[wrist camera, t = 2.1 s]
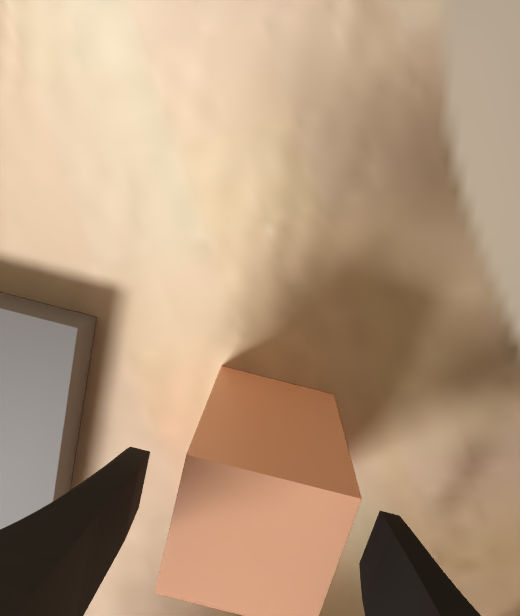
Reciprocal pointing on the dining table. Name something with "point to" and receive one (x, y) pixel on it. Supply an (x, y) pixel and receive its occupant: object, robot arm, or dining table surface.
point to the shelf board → (39, 401)
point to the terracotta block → (261, 501)
